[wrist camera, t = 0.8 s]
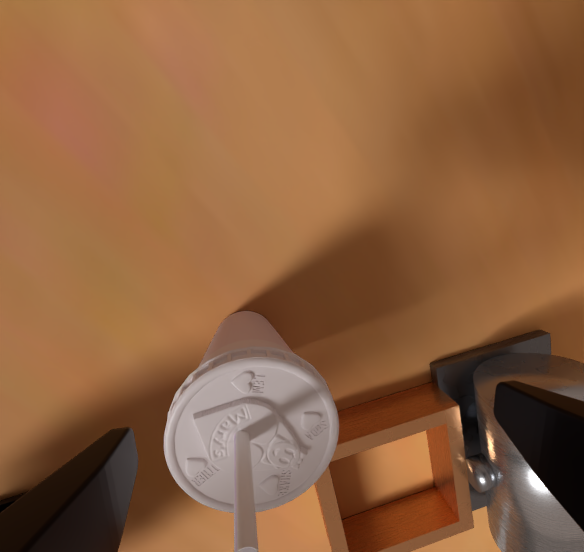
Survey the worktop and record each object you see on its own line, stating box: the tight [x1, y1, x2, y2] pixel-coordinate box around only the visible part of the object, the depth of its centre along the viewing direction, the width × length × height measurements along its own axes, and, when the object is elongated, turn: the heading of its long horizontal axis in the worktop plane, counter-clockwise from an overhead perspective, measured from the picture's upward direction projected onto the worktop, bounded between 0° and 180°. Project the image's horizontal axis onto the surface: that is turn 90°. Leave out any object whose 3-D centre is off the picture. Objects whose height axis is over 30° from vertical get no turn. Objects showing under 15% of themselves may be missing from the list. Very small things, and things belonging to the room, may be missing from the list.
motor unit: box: [314, 330, 584, 552], centre depth 22 cm, size 19×13×8 cm
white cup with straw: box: [164, 311, 339, 552], centre depth 15 cm, size 6×6×14 cm
